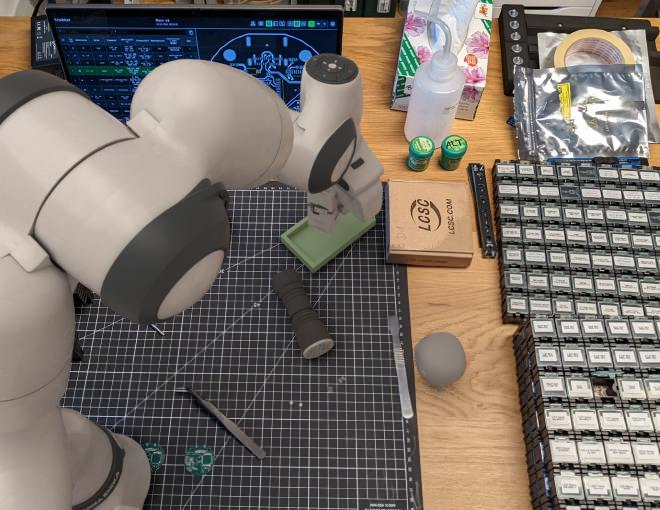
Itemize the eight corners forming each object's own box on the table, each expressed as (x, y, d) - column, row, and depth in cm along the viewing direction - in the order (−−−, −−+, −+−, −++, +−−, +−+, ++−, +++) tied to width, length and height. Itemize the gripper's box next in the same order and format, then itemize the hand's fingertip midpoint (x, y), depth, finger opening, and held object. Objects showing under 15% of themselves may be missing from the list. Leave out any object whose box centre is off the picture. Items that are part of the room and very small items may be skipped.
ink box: (326, 189, 112) (327, 147, 102) (352, 198, 111) (355, 156, 101) (306, 225, 108) (304, 186, 98) (332, 235, 107) (333, 196, 97)
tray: (313, 273, 112) (313, 268, 110) (280, 241, 115) (280, 235, 113) (375, 224, 117) (376, 219, 115) (342, 195, 120) (342, 189, 118)
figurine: (403, 357, 104) (412, 330, 94) (447, 350, 105) (461, 322, 94) (414, 404, 100) (425, 381, 90) (459, 397, 101) (475, 373, 90)
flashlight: (270, 287, 110) (267, 273, 106) (297, 276, 111) (296, 261, 107) (304, 362, 103) (303, 350, 99) (333, 349, 105) (334, 337, 100)
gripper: (270, 116, 96) (276, 170, 108) (361, 197, 89) (356, 246, 101) (301, 96, 98) (303, 151, 110) (392, 174, 91) (384, 224, 103)
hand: (329, 197), depth 106 cm, fingers closed on ink box, 6 cm apart
